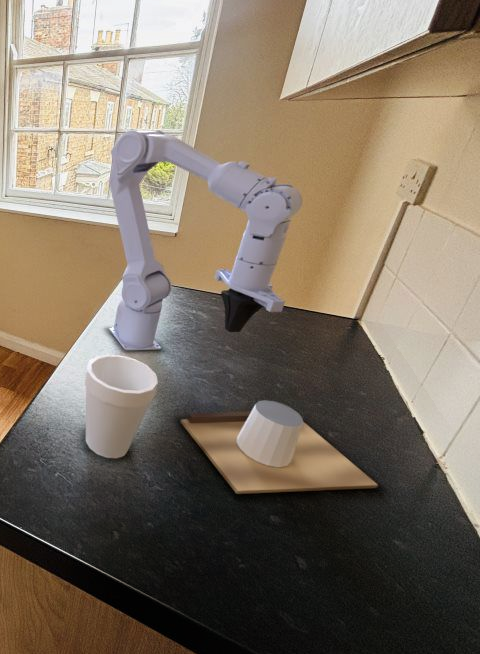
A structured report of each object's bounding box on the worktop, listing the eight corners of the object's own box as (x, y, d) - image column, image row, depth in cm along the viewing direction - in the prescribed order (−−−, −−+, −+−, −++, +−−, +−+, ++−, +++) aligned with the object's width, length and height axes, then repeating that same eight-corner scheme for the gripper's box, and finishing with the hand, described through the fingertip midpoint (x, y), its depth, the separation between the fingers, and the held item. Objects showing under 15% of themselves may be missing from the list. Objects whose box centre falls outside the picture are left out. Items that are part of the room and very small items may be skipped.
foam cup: (151, 462, 58) (172, 390, 53) (91, 470, 57) (106, 396, 51) (119, 418, 67) (133, 352, 61) (66, 424, 65) (76, 356, 60)
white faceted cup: (300, 404, 59) (283, 441, 62) (245, 393, 61) (232, 428, 64) (316, 435, 53) (297, 474, 56) (255, 421, 56) (240, 459, 59)
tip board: (180, 422, 66) (182, 413, 66) (295, 418, 68) (299, 409, 67) (236, 494, 54) (240, 484, 53) (376, 488, 55) (382, 478, 54)
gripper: (314, 274, 62) (283, 350, 67) (249, 246, 75) (227, 312, 80) (270, 275, 61) (243, 351, 67) (212, 247, 74) (193, 312, 80)
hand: (232, 330), depth 74 cm, fingers closed
